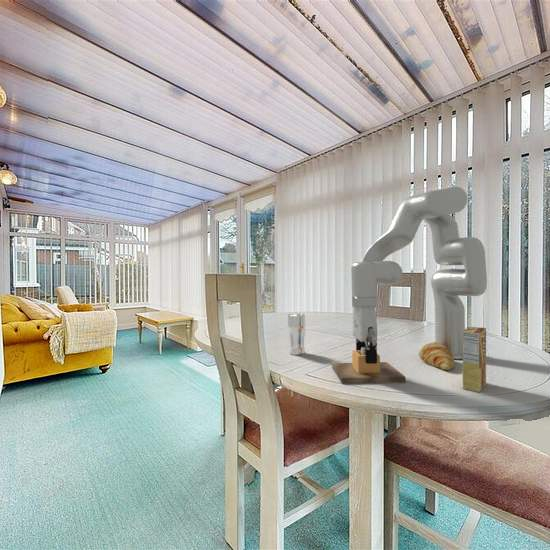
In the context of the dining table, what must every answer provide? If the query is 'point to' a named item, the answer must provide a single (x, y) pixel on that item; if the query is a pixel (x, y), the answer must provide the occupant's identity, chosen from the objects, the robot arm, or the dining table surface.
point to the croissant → (437, 356)
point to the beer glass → (296, 333)
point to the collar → (364, 363)
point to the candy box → (474, 358)
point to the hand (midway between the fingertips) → (366, 358)
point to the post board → (350, 375)
